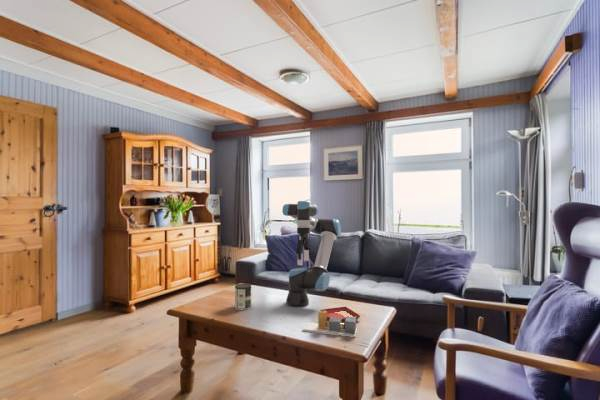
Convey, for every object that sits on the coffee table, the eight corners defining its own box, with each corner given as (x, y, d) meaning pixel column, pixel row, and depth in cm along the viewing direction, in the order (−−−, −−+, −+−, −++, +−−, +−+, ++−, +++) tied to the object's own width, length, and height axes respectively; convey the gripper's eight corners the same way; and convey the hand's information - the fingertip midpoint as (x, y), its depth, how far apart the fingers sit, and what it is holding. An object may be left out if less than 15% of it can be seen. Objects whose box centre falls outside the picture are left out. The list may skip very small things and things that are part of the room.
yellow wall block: (318, 327, 165) (318, 312, 165) (320, 325, 169) (320, 310, 169) (352, 332, 160) (352, 316, 160) (353, 329, 164) (353, 313, 164)
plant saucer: (319, 314, 190) (319, 309, 190) (345, 311, 196) (345, 305, 196) (332, 326, 173) (332, 320, 173) (361, 321, 179) (361, 315, 179)
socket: (346, 327, 167) (346, 316, 167) (356, 329, 165) (356, 317, 165) (344, 333, 160) (344, 321, 160) (354, 334, 159) (354, 322, 159)
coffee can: (249, 304, 208) (249, 282, 208) (252, 309, 198) (252, 286, 198) (233, 305, 204) (233, 284, 204) (236, 311, 194) (236, 288, 194)
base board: (307, 323, 174) (307, 322, 174) (357, 329, 167) (357, 328, 167) (302, 331, 165) (302, 329, 165) (355, 337, 157) (355, 335, 157)
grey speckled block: (330, 326, 168) (330, 317, 168) (341, 327, 167) (341, 318, 167) (328, 330, 163) (328, 321, 163) (340, 332, 161) (340, 322, 161)
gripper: (303, 225, 199) (302, 258, 199) (290, 228, 175) (290, 266, 175) (314, 225, 197) (314, 259, 196) (303, 228, 173) (303, 267, 173)
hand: (303, 262), depth 186 cm, fingers open, 13 cm apart
